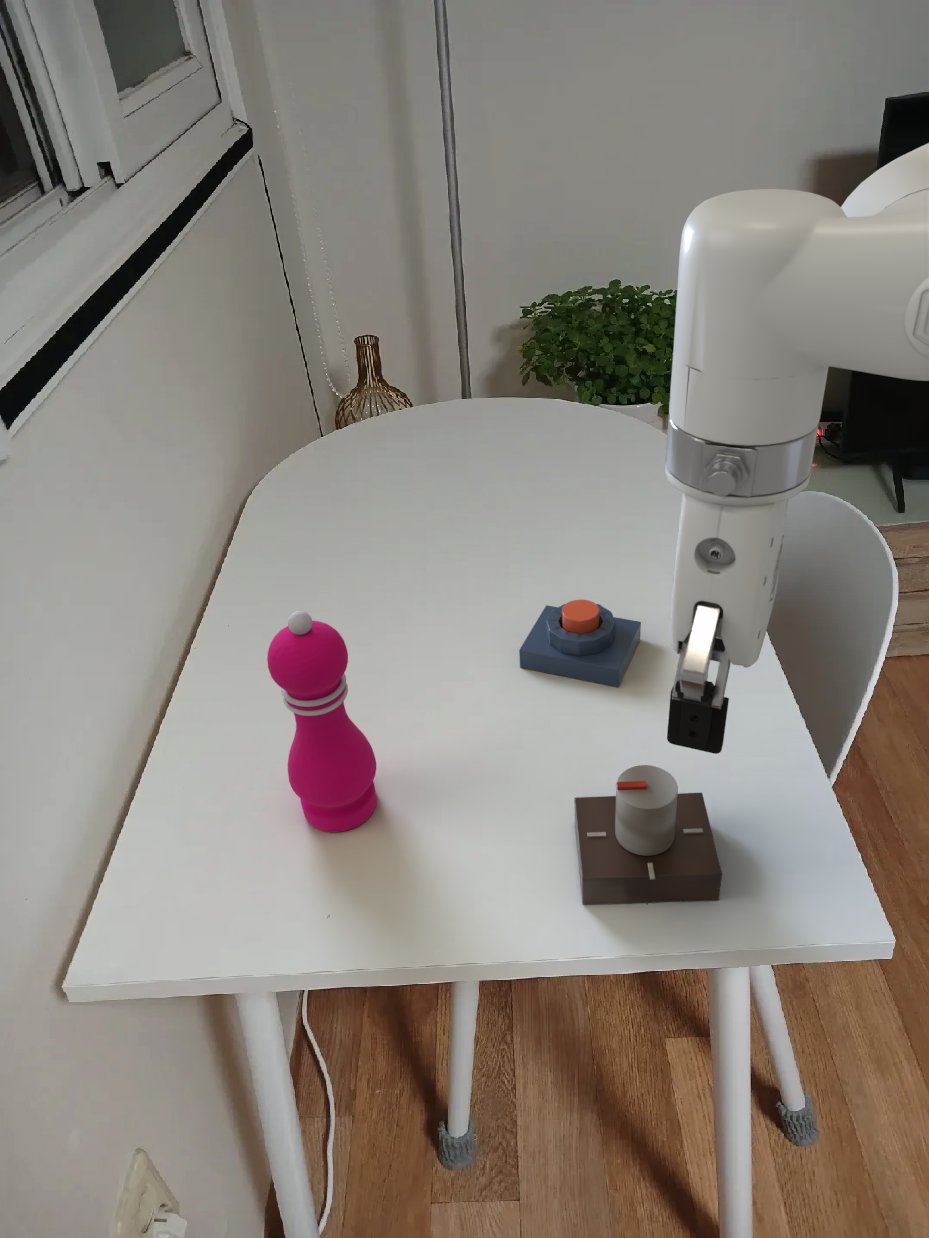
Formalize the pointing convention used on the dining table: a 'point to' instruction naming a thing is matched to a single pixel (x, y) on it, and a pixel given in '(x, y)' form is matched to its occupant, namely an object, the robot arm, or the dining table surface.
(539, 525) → the dining table surface
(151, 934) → the dining table surface
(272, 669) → the pepper mill
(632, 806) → the dial knob
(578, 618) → the button
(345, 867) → the dining table surface
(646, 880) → the dial panel
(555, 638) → the button box
